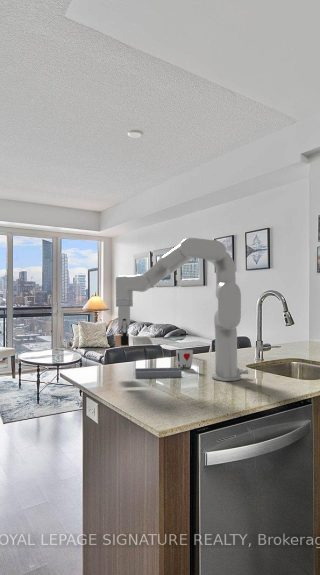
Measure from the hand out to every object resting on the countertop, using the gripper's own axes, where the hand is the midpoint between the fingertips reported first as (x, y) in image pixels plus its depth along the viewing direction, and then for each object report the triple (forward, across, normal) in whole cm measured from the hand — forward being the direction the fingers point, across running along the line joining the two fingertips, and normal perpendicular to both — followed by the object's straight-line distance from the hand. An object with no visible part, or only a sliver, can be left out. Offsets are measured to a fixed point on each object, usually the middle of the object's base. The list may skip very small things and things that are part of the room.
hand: (124, 343), depth 167 cm
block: (-2, 0, +2) cm, 2 cm away
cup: (+16, -14, +28) cm, 35 cm away
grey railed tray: (+16, 0, +14) cm, 21 cm away
